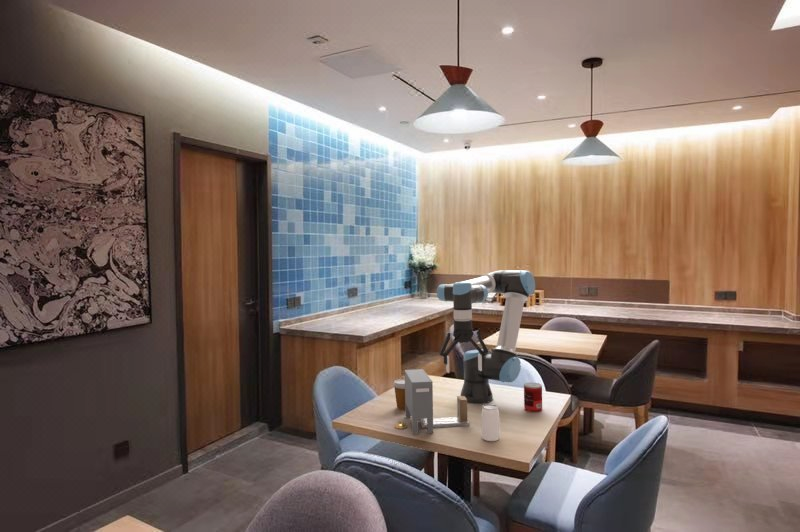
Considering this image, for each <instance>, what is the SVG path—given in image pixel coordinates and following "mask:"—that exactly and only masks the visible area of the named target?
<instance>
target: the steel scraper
mask: <svg viewBox="0 0 800 532" xmlns="http://www.w3.org/2000/svg"><path fill="white" fill-rule="evenodd" d="M456 398H457V399H456V403H457V405H456V407H457V409H456V410H457V411H456V412H457V416H452V417H450V416H449V417H436V418H435V417H433V427H435V428H449V427H450V426H453V427H465V426H466V427H469V426H470V421H469V420H468V402H467V398H466V397H465V396H461V395H458V396H456ZM419 419H420V420H419V423H420V425H421V427H422V429H427V418H419ZM468 425H469V426H468ZM450 428H451V427H450Z"/></svg>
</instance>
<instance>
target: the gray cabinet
mask: <svg viewBox="0 0 800 532" xmlns="http://www.w3.org/2000/svg"><path fill="white" fill-rule="evenodd" d="M404 379H405V410H404V412H405V413H404V415H405V416H406V417H405V418H406V419H411V433H412V435H419V427H418V426H419V424H418V423H419V419H427V428H426V432H427V434H433V433H434V428H433V418H434V395H433V389H434V388H433V387H434V386H433V380H432V379H431V378H430V377H429V375H428V374H427V372H426V371H425V369H423V368H422V369H420V368H418V369H417V368H416V369H405V370H404Z"/></svg>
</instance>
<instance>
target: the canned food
mask: <svg viewBox="0 0 800 532" xmlns="http://www.w3.org/2000/svg"><path fill="white" fill-rule="evenodd" d="M523 396H524V397H523V406H524V410H525V411H527V412H530V413H531V412H532V413H539V412H541V411H542V410H543V385H542V383H538V382H533V381H532V382H525V383H524V384H523Z"/></svg>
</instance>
